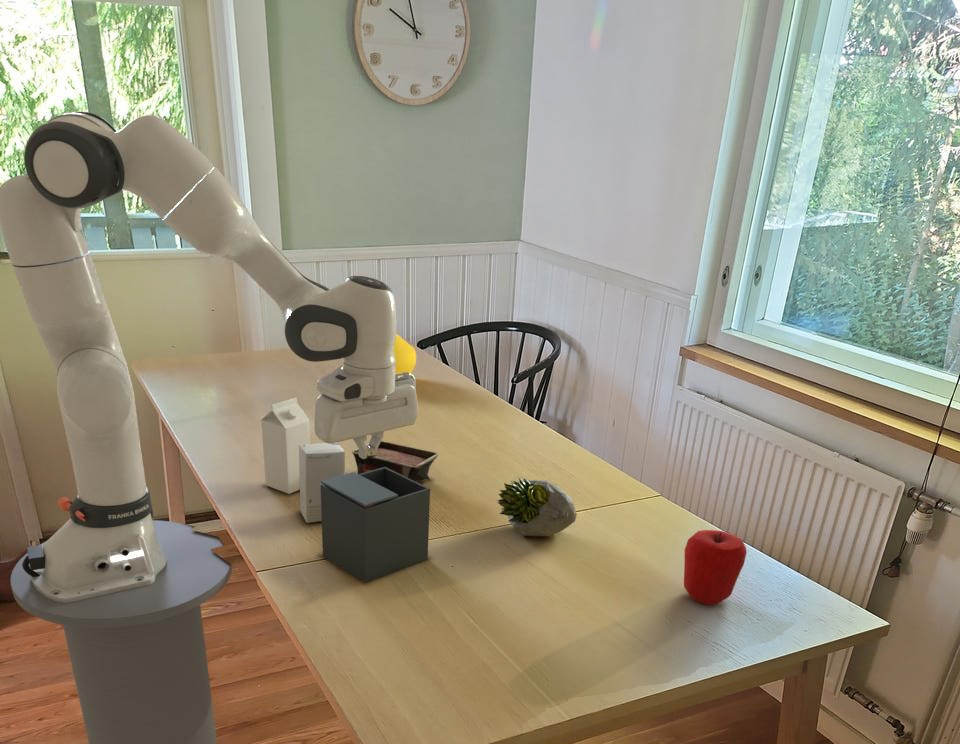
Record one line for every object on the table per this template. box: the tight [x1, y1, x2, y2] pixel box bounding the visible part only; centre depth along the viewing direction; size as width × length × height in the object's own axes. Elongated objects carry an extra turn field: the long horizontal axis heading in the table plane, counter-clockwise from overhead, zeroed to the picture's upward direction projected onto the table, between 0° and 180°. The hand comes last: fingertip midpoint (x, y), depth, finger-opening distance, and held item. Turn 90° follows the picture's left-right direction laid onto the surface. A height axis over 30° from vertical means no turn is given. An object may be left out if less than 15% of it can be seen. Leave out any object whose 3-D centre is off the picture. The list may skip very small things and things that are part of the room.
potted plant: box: [497, 476, 577, 537], centre depth 176 cm, size 12×13×15 cm
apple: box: [683, 529, 748, 606], centre depth 156 cm, size 11×10×14 cm
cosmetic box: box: [299, 442, 346, 524], centre depth 175 cm, size 8×6×15 cm
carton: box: [320, 467, 431, 583], centre depth 161 cm, size 15×13×14 cm
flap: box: [321, 471, 398, 507], centre depth 155 cm, size 7×13×1 cm, turn 44°
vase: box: [394, 332, 417, 375], centre depth 257 cm, size 18×18×19 cm
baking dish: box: [351, 440, 439, 482], centre depth 194 cm, size 14×18×10 cm
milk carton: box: [260, 397, 311, 495], centre depth 186 cm, size 7×7×19 cm
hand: (367, 456), depth 153 cm, fingers closed
